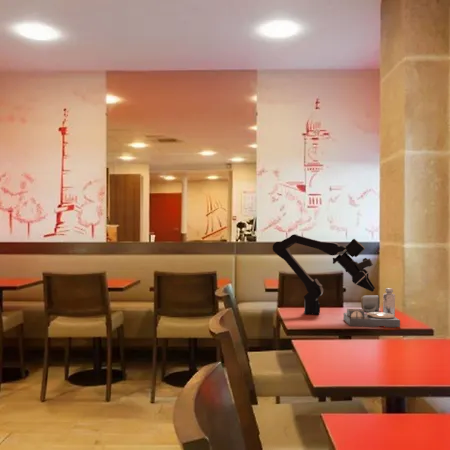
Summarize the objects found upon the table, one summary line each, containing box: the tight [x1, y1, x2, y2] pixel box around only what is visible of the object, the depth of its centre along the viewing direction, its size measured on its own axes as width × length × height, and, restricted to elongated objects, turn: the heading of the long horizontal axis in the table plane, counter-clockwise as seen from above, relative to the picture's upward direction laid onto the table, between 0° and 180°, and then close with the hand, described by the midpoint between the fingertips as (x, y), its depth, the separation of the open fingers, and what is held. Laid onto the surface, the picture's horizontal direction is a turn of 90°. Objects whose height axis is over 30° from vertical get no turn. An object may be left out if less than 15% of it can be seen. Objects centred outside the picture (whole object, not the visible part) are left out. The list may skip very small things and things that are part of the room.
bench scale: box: [343, 308, 401, 328], centre depth 211 cm, size 20×15×6 cm
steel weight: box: [382, 287, 396, 317], centre depth 223 cm, size 5×5×14 cm
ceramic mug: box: [360, 294, 380, 313], centre depth 245 cm, size 11×8×8 cm
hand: (373, 289), depth 225 cm, fingers open, 9 cm apart
